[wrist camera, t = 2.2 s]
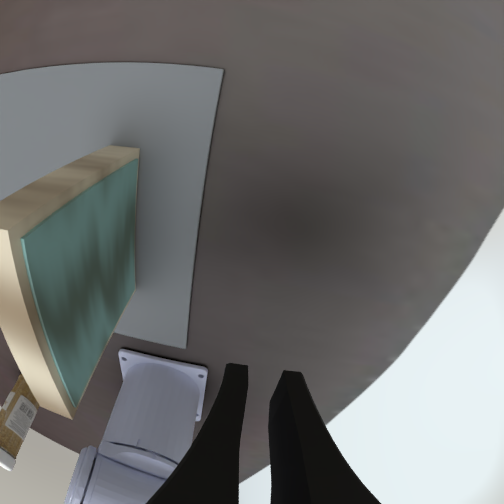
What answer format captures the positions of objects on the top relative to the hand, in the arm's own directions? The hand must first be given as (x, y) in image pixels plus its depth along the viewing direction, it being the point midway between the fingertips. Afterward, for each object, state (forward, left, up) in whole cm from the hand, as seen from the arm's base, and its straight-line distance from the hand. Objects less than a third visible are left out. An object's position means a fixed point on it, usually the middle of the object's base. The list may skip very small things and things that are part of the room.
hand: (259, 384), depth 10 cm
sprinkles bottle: (-26, +25, -11) cm, 38 cm away
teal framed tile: (0, +9, -10) cm, 13 cm away
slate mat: (0, +15, -10) cm, 18 cm away
